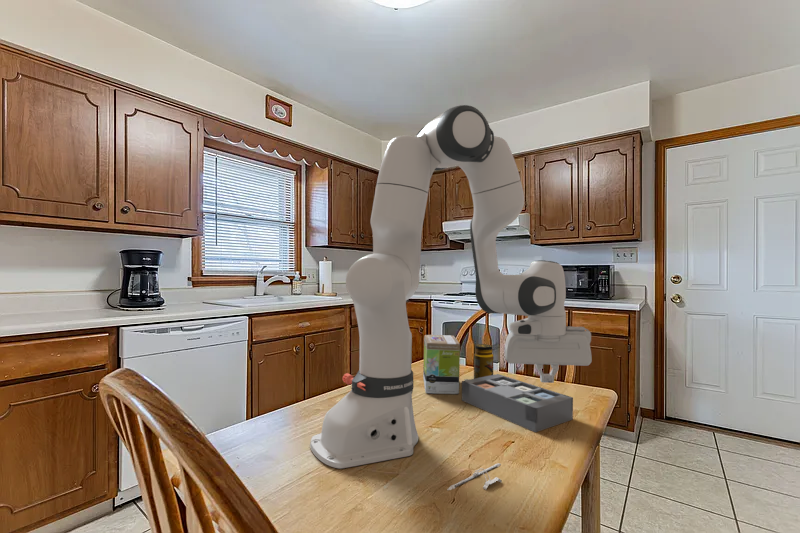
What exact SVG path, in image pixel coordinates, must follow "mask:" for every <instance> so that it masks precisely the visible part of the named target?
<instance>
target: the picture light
mask: <svg viewBox="0 0 800 533" xmlns="http://www.w3.org/2000/svg"><path fill="white" fill-rule="evenodd" d="M501 465H502V463H495V464H494V465H491V466H490V467H488V468H485V469H484V468H479V469H477V470H475V471H474V473H473V474H472V475H471V476H468V477H467V478H465V479H462V480H460V481H459V482H457V483H454V484H452V485H450V486H449V487H448V488H447V491H451V490H455V489H456V488H458V487H460V486H462V485H464V484H466V483H468V482H470V481H472V480H474V479H476V478H478V477H480V476H484V478H485V483H484V485H483V486H482V488H483V490H485V491H487V488H488V487H489V485H492V484H494V483H496V481H497V482H499V483H503V482H502V479H501V478H499V477H497V476H496V477H494V478H493V479H491V478H490V475H489V473H488V472H491V471H493V470H494V469H495V470H496V468H499V467H500V466H501ZM486 474H487V477H488V480H487V477H486Z"/></svg>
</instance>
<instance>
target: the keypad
mask: <svg viewBox="0 0 800 533" xmlns="http://www.w3.org/2000/svg"><path fill="white" fill-rule="evenodd" d="M469 379H470V378H469ZM500 380H506V381H509V382H512V383H510V384H506V385H504V384H501V383H498V382H496V381H500ZM481 384H489V385H491V386H494V384H495V385H498V386H497V387H492V388H488V389H485V388H482V387H480V386H477V385H481ZM513 385H515V387H519V386H524V387H527V388H530V389H532V390H528V391H522V390H519V389H516V388H513V387H510V386H513ZM532 392H534V394H531V393H532ZM542 392H543V393H546V394H549V395H552V396H555V397H552V398H548V399H546V398H543V397H540V396H537V395H535V394H539V393H542ZM520 395H527V396H530V397H527V398H528V399H531V400H532V397H533V398H536V399H538V400H541V401H538V402H534V403H530V404H526V403H523V402H520V401H518V400H516V399H519V398H522V397H519V396H520ZM461 401H462V402H465V403H466V404H469V405H472V406H474V407H476V408H477V409H481V410H482V411H485V412H488V413H490V414H492V415H494V416H496V417H499V418H501V419H504V420H506V421H508V422H511V423H513V424H515V425H517V426H519V427H522V428H524V429H527V430H529V431H532V432H533V433H537V432H539V431H544V430H546V429H549V428H551V427H555V426H558V425H560V424H563V423H567V422H569V421H572V420H573V418H574V397H573V396H569V395H566V394H563V393H559V392H557V391H553V390H550V389H547V388H544V387H541V386H538V385H535V384H532V383H527V382H525V381H522V380H519V379H514V378H513V377H509V376H506V375H504V374H503V375H502V374H499V373H496V374H493V375H490V376H485V377H480V378H475V379H474V378H471V379H470V380H462V381H461Z"/></svg>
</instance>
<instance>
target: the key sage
mask: <svg viewBox="0 0 800 533" xmlns="http://www.w3.org/2000/svg"><path fill="white" fill-rule="evenodd" d="M516 400H518V401H520V402H523V403H526V404H530V403H534V402H537V401H534V400H531V399H528V398H525V397H523V398H519V399H516Z"/></svg>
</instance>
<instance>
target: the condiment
mask: <svg viewBox="0 0 800 533" xmlns="http://www.w3.org/2000/svg"><path fill="white" fill-rule="evenodd" d="M474 348H475V349H474V354H473V379H475V378H480V377H485V376H490V375H494V354H493V346H492V345H491V344H487V343H478V344H475V347H474ZM465 380H470V378H466V379H465V378H464V380H463V381H465Z"/></svg>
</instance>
